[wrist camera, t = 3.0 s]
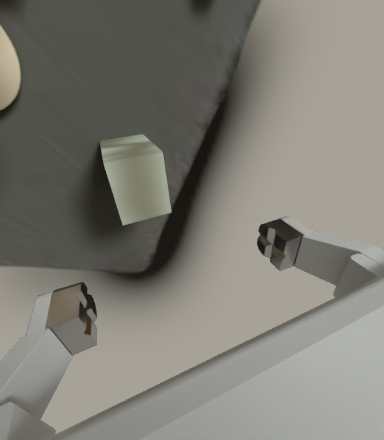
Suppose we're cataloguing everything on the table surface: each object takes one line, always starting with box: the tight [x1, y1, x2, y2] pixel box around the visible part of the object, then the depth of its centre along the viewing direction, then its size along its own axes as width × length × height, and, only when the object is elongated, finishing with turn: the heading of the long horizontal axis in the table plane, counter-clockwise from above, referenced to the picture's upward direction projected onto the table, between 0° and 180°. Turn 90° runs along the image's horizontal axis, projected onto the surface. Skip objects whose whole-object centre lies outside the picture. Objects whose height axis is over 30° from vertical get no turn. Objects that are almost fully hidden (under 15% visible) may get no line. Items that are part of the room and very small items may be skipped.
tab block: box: [100, 135, 171, 225], centre depth 18 cm, size 4×5×7 cm
